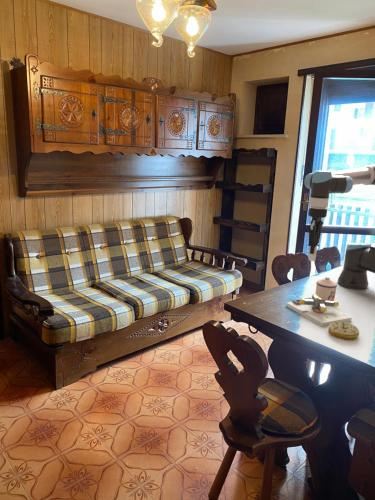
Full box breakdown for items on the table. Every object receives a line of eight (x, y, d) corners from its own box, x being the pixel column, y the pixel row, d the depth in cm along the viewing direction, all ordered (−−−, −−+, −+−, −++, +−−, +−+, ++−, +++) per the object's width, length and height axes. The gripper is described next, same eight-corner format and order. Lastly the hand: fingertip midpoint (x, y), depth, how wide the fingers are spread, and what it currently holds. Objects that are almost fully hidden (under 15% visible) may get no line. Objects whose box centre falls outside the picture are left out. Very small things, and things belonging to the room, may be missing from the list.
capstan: (294, 300, 174) (295, 290, 173) (331, 303, 174) (333, 293, 172) (302, 315, 158) (304, 304, 157) (344, 318, 157) (345, 307, 156)
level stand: (313, 301, 179) (314, 295, 179) (351, 321, 160) (352, 314, 159) (285, 306, 172) (286, 299, 172) (320, 326, 153) (322, 319, 152)
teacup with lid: (330, 306, 175) (334, 282, 172) (311, 301, 180) (314, 277, 177) (338, 299, 184) (342, 276, 181) (320, 294, 190) (323, 271, 187)
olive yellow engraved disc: (327, 326, 154) (329, 317, 153) (356, 331, 151) (358, 322, 150) (328, 337, 145) (329, 328, 144) (359, 343, 141) (360, 334, 140)
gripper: (314, 205, 173) (308, 255, 179) (304, 208, 162) (298, 261, 168) (331, 206, 169) (324, 258, 175) (322, 210, 158) (315, 265, 164)
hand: (311, 260), depth 172 cm, fingers closed
